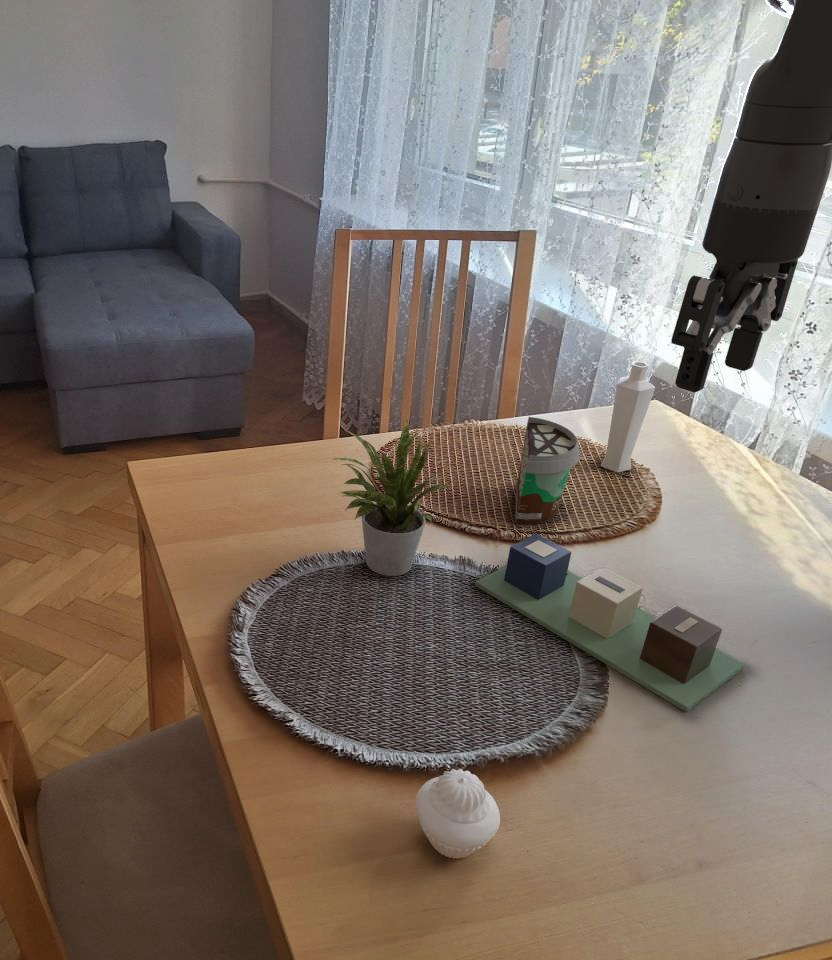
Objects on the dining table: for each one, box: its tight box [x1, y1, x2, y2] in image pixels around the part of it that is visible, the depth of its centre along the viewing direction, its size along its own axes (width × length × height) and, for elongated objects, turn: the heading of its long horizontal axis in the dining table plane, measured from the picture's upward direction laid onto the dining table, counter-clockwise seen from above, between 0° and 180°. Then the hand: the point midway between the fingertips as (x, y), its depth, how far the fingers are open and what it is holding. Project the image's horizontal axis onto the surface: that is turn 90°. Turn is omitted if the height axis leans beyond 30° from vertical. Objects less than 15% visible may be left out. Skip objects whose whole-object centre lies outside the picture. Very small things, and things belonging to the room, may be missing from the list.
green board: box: [474, 565, 745, 713], centre depth 89 cm, size 10×24×1 cm, turn 34°
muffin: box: [414, 768, 501, 860], centre depth 65 cm, size 6×6×7 cm
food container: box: [514, 416, 580, 525], centre depth 107 cm, size 12×6×10 cm, turn 161°
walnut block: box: [640, 605, 723, 684], centre depth 82 cm, size 4×4×5 cm
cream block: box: [569, 566, 644, 639], centre depth 88 cm, size 4×4×5 cm
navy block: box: [504, 533, 572, 600], centre depth 94 cm, size 4×4×5 cm
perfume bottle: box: [600, 360, 656, 473], centre depth 115 cm, size 5×4×15 cm
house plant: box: [332, 419, 453, 577], centre depth 97 cm, size 14×14×16 cm
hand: (713, 378), depth 79 cm, fingers open, 8 cm apart
